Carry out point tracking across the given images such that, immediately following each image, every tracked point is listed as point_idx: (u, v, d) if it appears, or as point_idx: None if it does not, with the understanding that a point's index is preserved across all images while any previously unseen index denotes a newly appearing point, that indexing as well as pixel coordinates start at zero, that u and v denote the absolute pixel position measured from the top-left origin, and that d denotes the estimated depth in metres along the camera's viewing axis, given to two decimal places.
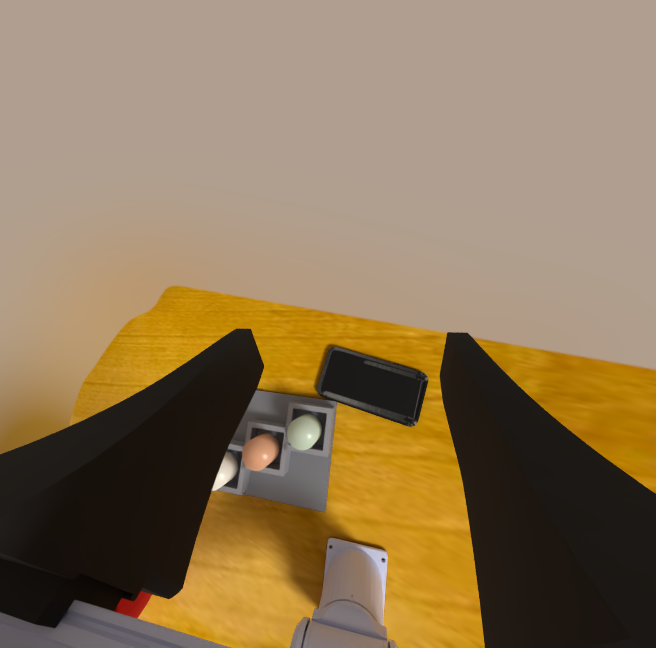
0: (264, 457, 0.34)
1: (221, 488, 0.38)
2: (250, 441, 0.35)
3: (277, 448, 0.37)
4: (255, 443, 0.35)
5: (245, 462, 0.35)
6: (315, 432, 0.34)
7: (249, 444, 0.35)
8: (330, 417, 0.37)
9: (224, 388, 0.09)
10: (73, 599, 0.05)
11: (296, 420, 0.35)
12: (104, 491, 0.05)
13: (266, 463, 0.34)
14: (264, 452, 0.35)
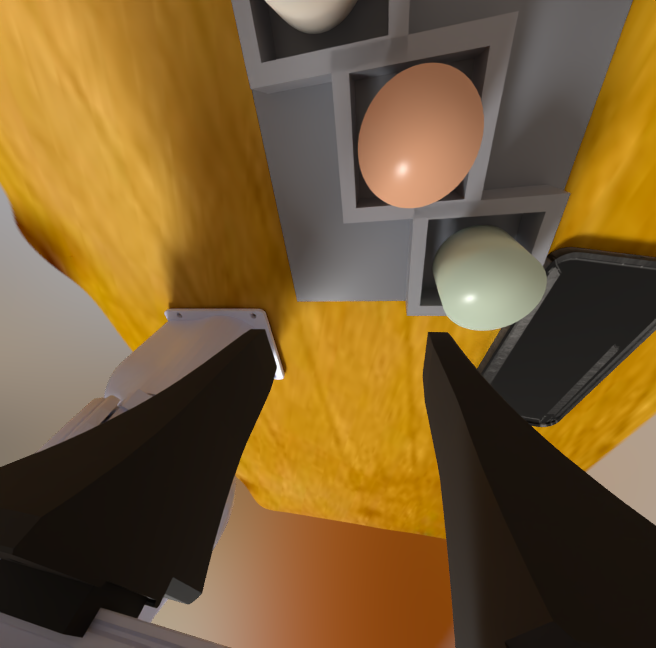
0: (410, 185, 0.10)
1: None
2: (470, 96, 0.08)
3: None
4: (461, 127, 0.08)
5: (380, 100, 0.08)
6: (492, 326, 0.12)
7: (457, 95, 0.08)
8: None
9: (240, 389, 0.09)
10: None
11: (538, 273, 0.11)
12: (129, 496, 0.05)
13: (391, 198, 0.10)
14: (427, 180, 0.09)
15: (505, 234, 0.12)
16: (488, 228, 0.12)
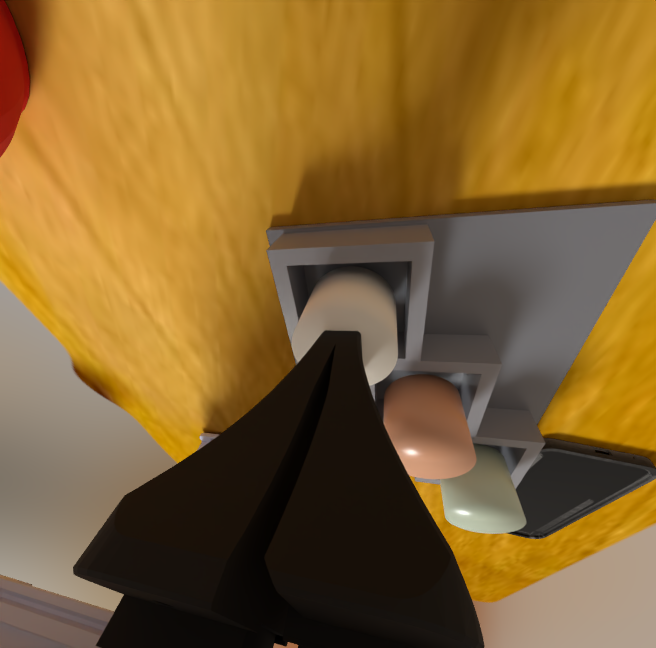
0: (421, 470, 0.13)
1: (290, 317, 0.13)
2: (466, 448, 0.11)
3: None
4: (460, 457, 0.12)
5: (401, 439, 0.12)
6: (485, 532, 0.16)
7: (457, 447, 0.11)
8: None
9: None
10: (73, 599, 0.05)
11: (520, 517, 0.14)
12: (274, 523, 0.04)
13: (407, 472, 0.13)
14: (435, 470, 0.13)
15: (495, 464, 0.15)
16: (482, 453, 0.16)
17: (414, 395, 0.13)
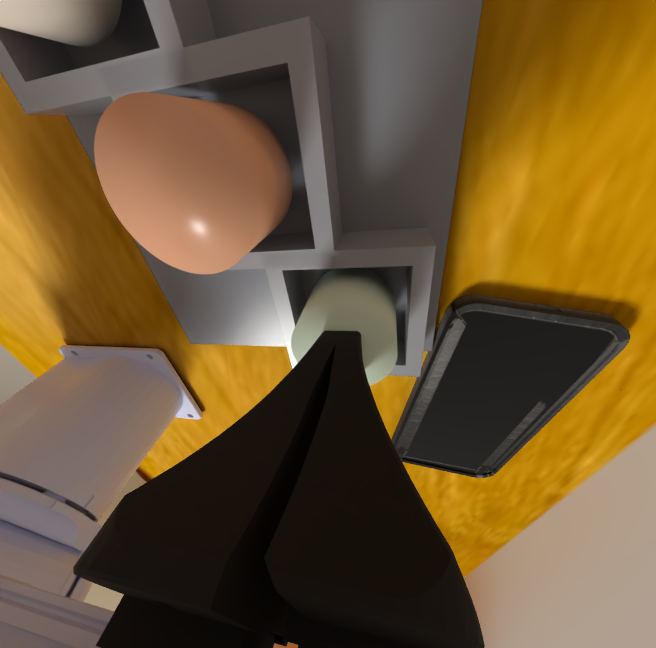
0: (190, 247, 0.07)
1: None
2: (212, 138, 0.06)
3: None
4: (219, 179, 0.06)
5: (104, 142, 0.06)
6: None
7: (194, 137, 0.06)
8: (394, 373, 0.13)
9: None
10: (73, 599, 0.05)
11: (384, 333, 0.09)
12: (274, 523, 0.04)
13: (176, 262, 0.08)
14: (208, 243, 0.07)
15: (366, 280, 0.10)
16: (351, 272, 0.11)
17: None
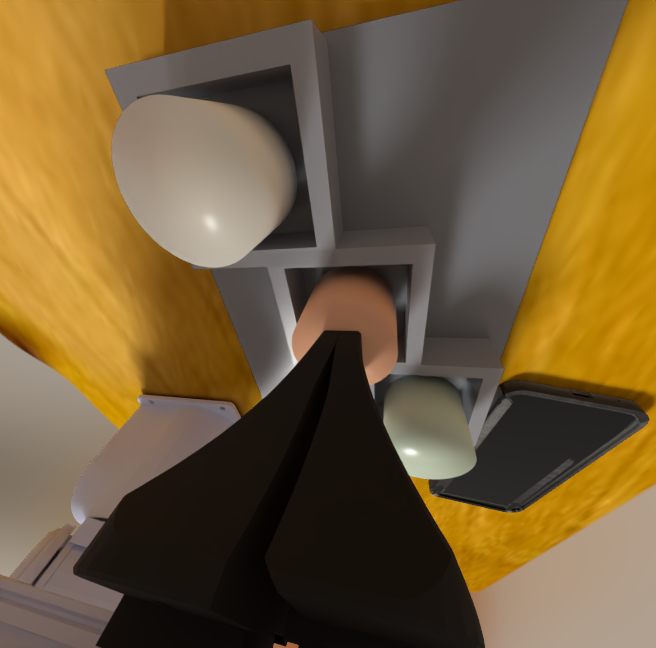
0: None
1: None
2: (382, 330, 0.09)
3: None
4: (379, 346, 0.09)
5: (306, 323, 0.09)
6: (433, 477, 0.13)
7: (371, 328, 0.09)
8: None
9: None
10: (73, 599, 0.05)
11: (468, 450, 0.11)
12: (273, 523, 0.04)
13: None
14: None
15: (443, 394, 0.13)
16: (429, 383, 0.13)
17: (331, 282, 0.10)
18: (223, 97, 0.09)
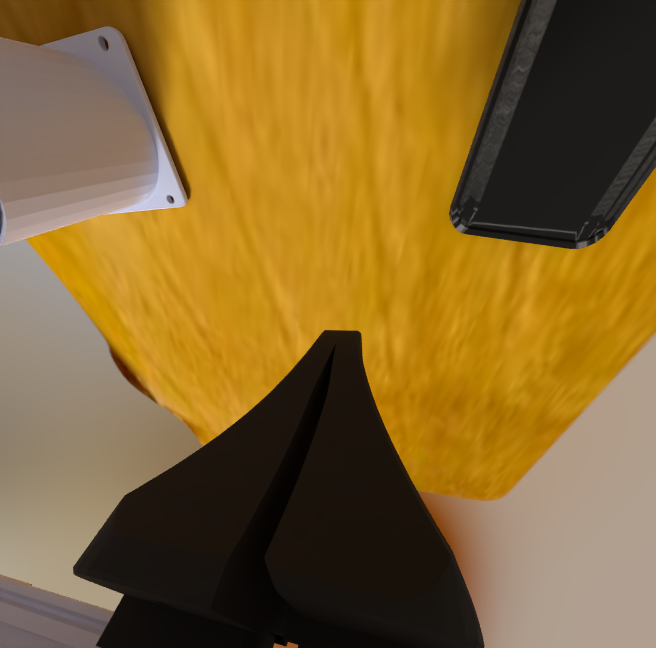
0: None
1: None
2: None
3: None
4: None
5: None
6: None
7: None
8: None
9: None
10: (73, 599, 0.05)
11: None
12: (274, 523, 0.04)
13: None
14: None
15: None
16: None
17: None
18: None
